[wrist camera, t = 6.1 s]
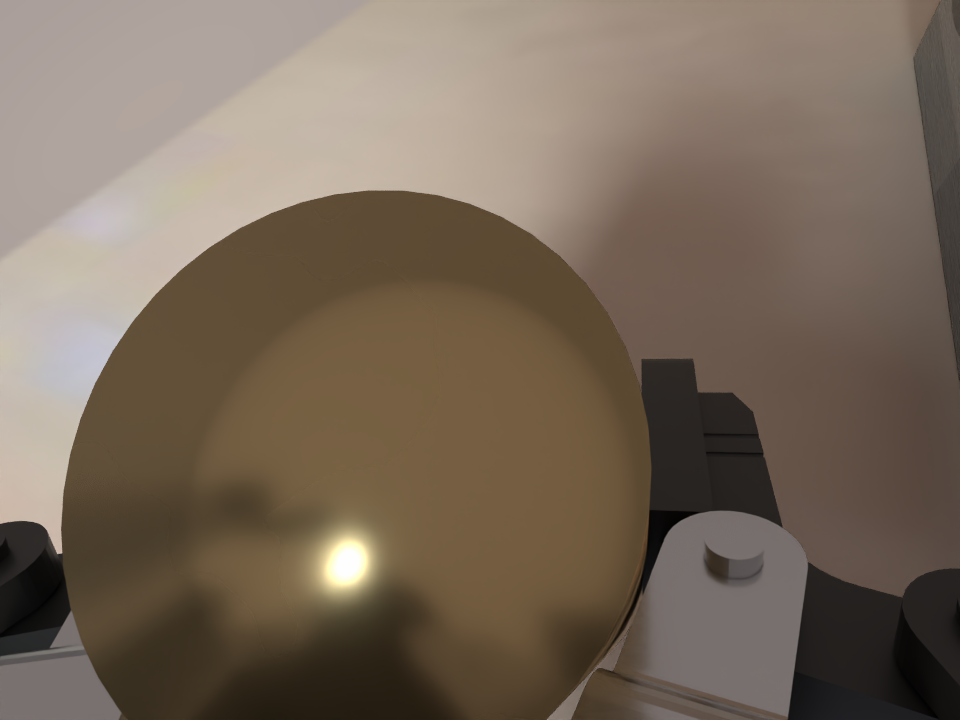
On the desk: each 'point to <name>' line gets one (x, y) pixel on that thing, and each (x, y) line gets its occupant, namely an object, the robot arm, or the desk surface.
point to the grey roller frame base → (944, 139)
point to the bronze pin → (360, 476)
